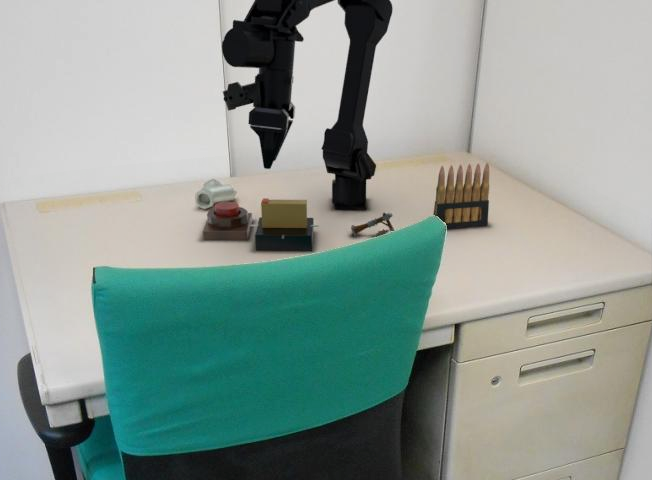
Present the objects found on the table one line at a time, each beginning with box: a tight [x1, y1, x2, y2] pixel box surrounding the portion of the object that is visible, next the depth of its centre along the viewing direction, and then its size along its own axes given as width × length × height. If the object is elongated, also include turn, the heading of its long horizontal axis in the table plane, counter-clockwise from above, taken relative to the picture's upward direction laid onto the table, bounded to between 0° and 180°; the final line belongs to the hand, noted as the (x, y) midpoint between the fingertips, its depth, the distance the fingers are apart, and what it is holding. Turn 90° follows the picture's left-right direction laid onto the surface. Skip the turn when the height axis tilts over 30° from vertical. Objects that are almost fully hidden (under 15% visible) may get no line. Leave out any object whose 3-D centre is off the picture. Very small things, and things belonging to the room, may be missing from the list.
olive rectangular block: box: [260, 197, 308, 228], centre depth 150 cm, size 8×2×5 cm, turn 91°
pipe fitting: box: [194, 178, 238, 210], centre depth 169 cm, size 8×4×7 cm
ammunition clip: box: [433, 162, 490, 230], centre depth 157 cm, size 11×2×12 cm, turn 104°
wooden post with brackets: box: [350, 212, 395, 237], centre depth 155 cm, size 2×8×4 cm, turn 86°
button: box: [214, 201, 240, 217], centre depth 155 cm, size 4×4×2 cm
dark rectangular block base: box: [251, 216, 319, 252], centre depth 152 cm, size 12×12×3 cm
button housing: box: [202, 206, 253, 241], centre depth 156 cm, size 8×10×4 cm
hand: (269, 164), depth 146 cm, fingers open, 9 cm apart
